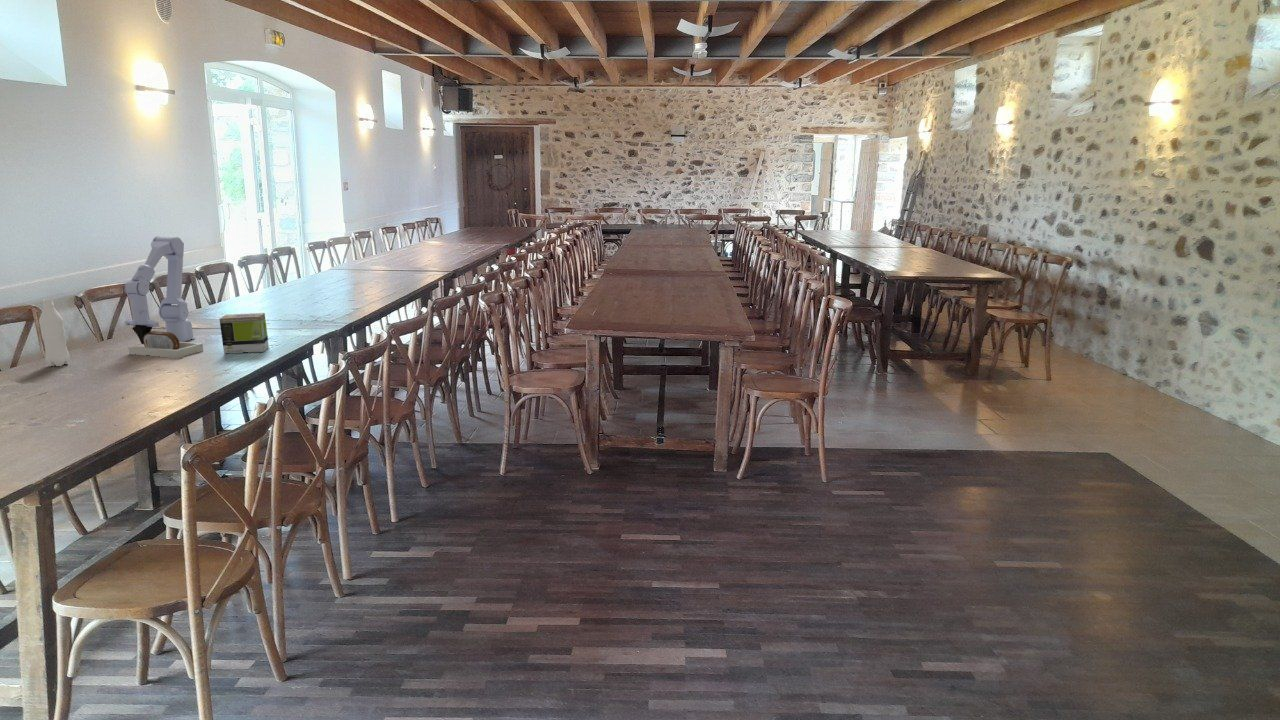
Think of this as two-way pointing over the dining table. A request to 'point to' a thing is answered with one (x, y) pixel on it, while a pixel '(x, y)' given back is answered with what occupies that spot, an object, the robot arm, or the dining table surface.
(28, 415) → the dining table surface
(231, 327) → the tea box
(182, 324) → the robot arm
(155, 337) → the tin
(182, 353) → the box
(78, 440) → the dining table surface
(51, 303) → the water bottle
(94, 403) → the dining table surface
